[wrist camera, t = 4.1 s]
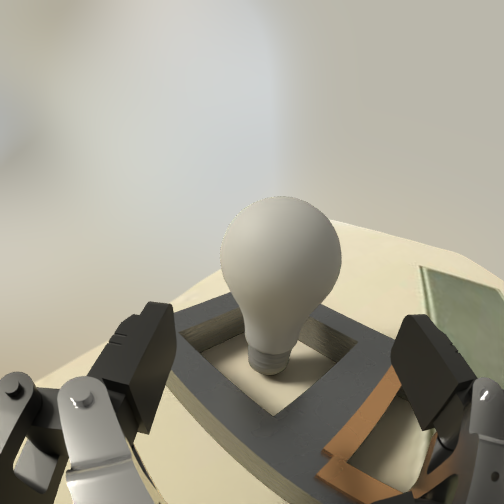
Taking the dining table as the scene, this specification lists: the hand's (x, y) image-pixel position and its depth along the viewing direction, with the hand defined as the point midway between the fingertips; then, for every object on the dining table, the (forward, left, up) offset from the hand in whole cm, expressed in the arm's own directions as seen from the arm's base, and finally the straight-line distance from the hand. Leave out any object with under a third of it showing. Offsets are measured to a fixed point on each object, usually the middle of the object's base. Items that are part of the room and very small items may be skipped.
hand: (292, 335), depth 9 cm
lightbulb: (-4, -4, -8) cm, 10 cm away
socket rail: (-4, +2, -8) cm, 9 cm away
